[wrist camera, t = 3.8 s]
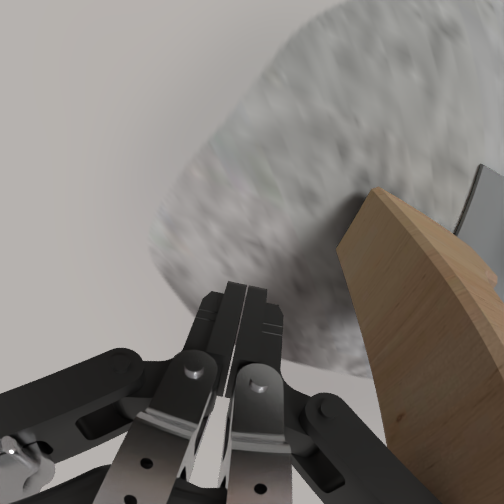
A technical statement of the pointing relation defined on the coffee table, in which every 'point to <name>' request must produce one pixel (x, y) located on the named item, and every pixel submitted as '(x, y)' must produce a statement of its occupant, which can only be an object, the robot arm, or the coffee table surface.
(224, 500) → the robot arm
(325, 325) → the coffee table surface
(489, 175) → the mat
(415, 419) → the decorative block
